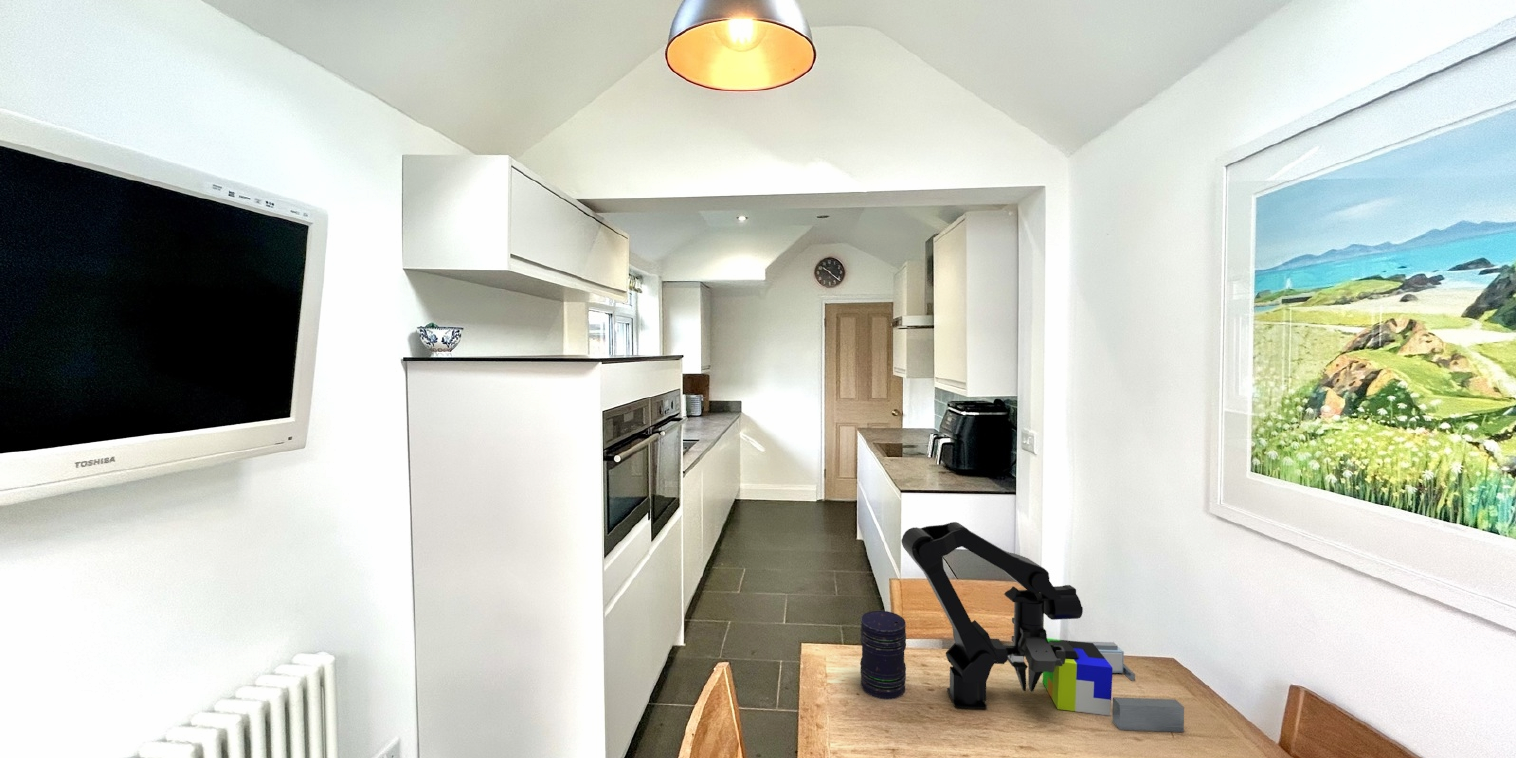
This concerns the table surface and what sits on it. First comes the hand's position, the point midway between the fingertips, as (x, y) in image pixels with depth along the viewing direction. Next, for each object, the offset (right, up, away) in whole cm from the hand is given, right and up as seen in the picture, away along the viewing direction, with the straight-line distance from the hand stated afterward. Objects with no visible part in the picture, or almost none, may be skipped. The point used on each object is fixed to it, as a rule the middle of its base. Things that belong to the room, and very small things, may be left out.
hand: (1027, 690), depth 120 cm
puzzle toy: (+10, -1, -1) cm, 10 cm away
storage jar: (-30, -2, +4) cm, 31 cm away
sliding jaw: (+20, -1, +10) cm, 23 cm away
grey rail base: (+20, -1, +1) cm, 20 cm away
